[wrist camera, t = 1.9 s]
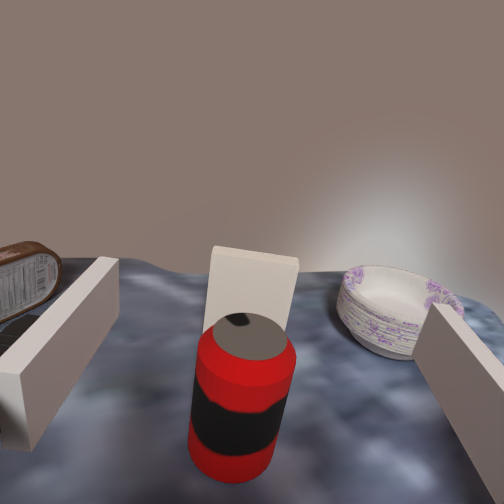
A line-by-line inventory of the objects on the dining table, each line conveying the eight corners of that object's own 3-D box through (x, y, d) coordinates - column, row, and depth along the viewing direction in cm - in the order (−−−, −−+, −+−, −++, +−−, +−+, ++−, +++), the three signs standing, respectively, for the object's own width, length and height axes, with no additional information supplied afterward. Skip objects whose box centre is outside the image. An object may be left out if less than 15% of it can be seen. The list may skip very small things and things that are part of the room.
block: (277, 365, 42) (299, 266, 37) (200, 354, 42) (211, 253, 37) (276, 352, 45) (297, 256, 39) (203, 342, 44) (214, 244, 39)
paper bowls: (321, 301, 57) (333, 256, 54) (414, 313, 58) (431, 269, 55) (344, 370, 43) (362, 315, 40) (465, 384, 44) (493, 331, 41)
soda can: (246, 399, 37) (265, 299, 32) (289, 463, 31) (320, 354, 26) (174, 424, 33) (184, 315, 28) (209, 503, 27) (228, 383, 23)
